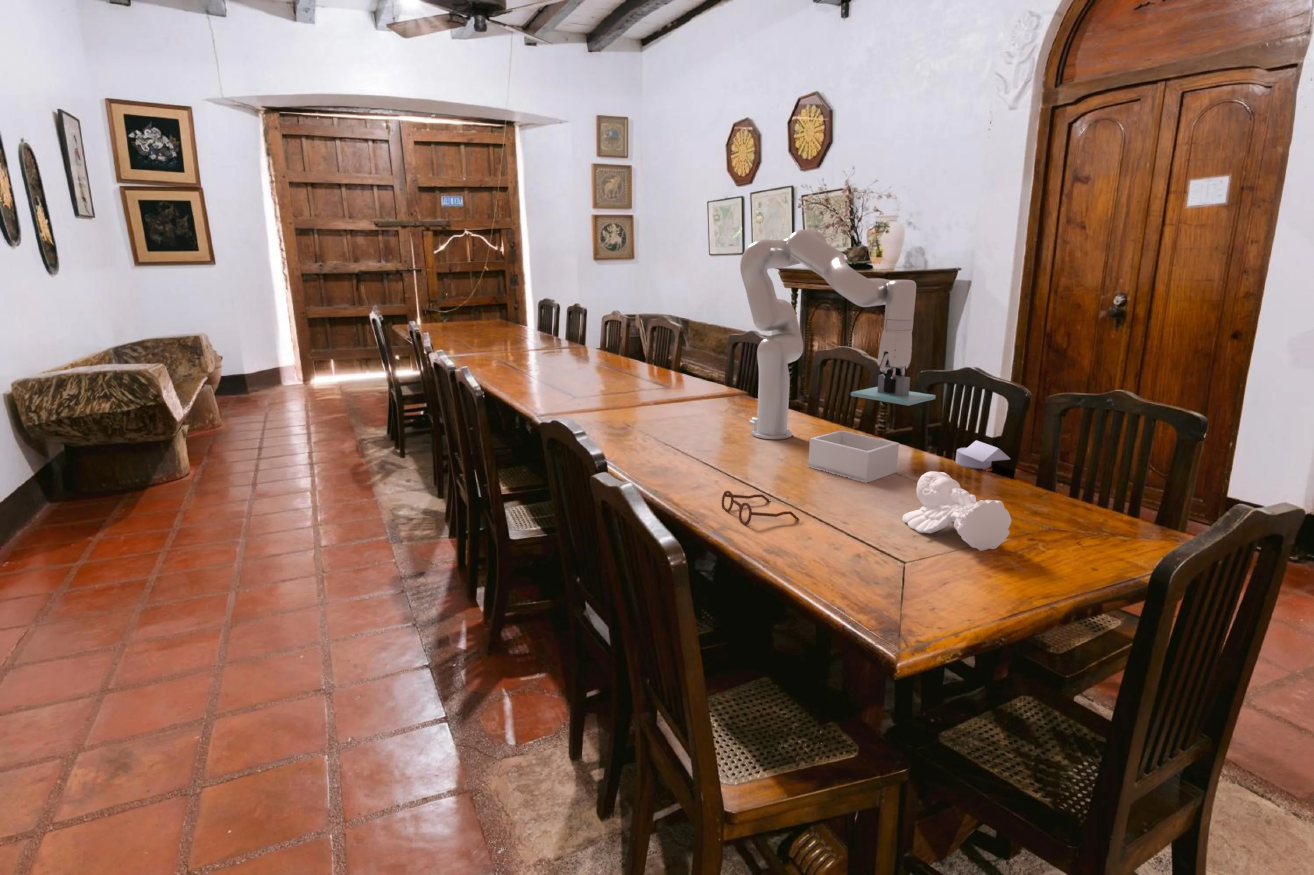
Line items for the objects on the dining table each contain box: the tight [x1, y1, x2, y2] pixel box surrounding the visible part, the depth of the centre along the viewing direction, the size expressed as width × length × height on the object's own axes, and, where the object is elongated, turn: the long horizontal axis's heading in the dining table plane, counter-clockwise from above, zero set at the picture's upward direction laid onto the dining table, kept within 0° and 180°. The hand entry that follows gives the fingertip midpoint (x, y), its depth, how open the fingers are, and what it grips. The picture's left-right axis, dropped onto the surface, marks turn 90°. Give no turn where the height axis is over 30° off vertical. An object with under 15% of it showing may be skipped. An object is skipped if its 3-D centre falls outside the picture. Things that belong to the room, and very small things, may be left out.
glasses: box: [721, 490, 800, 526], centre depth 157 cm, size 13×13×5 cm
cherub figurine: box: [902, 470, 1012, 552], centre depth 145 cm, size 13×12×20 cm
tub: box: [807, 430, 900, 484], centre depth 188 cm, size 18×14×8 cm
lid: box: [850, 373, 937, 407], centre depth 198 cm, size 18×14×6 cm
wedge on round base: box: [955, 439, 1011, 469], centre depth 193 cm, size 9×7×13 cm
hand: (892, 391), depth 198 cm, fingers closed on lid, 3 cm apart
